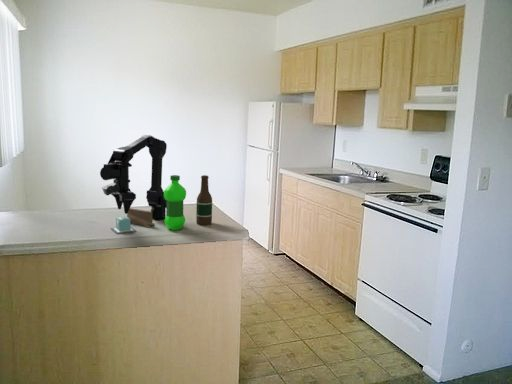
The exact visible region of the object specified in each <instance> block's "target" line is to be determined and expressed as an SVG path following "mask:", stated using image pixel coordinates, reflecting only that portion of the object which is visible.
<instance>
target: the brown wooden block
mask: <svg viewBox="0 0 512 384" xmlns="http://www.w3.org/2000/svg"><path fill="white" fill-rule="evenodd" d="M126 217H128V218H129V219H130V224H133V225H138V226H139V225H140V226H144V227H145V228H147V229H148V228H150V227H153V226H155V225H156V223H155V222H153V219H152V212H151V210H145V209H138V208H133V207H130V209H129V211H128V213H127V214H126Z"/></svg>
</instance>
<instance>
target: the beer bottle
mask: <svg viewBox="0 0 512 384" xmlns="http://www.w3.org/2000/svg"><path fill="white" fill-rule="evenodd" d="M200 178H201V181H200V190H199V191H200V192H199V194H198V195H197V197H196V214H195V215H196V225H198V226H202V227H203V226H210V225H212V220H213V197H212V195H211V192H210V191H209V178H210V177H209V175H207V174H206V175H201V176H200Z"/></svg>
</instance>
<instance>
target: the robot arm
mask: <svg viewBox="0 0 512 384" xmlns="http://www.w3.org/2000/svg"><path fill="white" fill-rule="evenodd" d="M167 147H168V145H167V143H166V140H164V139H163V140H161V139H159V138H156V137H154V136H152V135H148V134H143V135H141V137H140V138H138V139H136V140H134V141H133V142H131V143H129V144H128V145H125V146H121V147H118V148H116V149H113V151H112V154H111V156H110V158H109V160H108V162H107V163H105V164H104V163H103V167H102V168H101V169H100V171H99V175H100V177H101V179H102V180H103V181H109V180H113V182H112V183H108V184H106V185H105V186H102V187H101V189H102V192H103V194H104V195H105V196H110V195H111V196H112V197H113V198H114V200H115V202H116V203H115V204H116V206H117V209H118V210H121V209H122V206H123V212H124V214H126V215H127V213H128V211H129V209H130V208H132V204H133V203H134V201H135V200H136V199H137V194H136V193H134V192H133V191H132V190H131V188H130V183H131V179H130V178H129V177H130V176H129V173H130V171H129V170H130V169H129V168H130V167H133V165H132V164H131V163H130V161H132V160H133V158H134V155H136V154H137V153H138V152H140V151H141V150H143V149H144V148H148V152H149V155H150V157H151V175H150V176H151V179H150V184H151V185H150V187H149V189H148V190H146V197H145V198H146V201H147V203H148V204H147V205H148V206H149V207H151V209H150V211H151V212H152V221H160V220H161V221H163V220H165V217H166V209H167V200H166V199H165V198H164V190H163V188H162V178H163V177H162V176H163V158H164V157H165V155H166V153H167Z"/></svg>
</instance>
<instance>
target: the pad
mask: <svg viewBox="0 0 512 384" xmlns="http://www.w3.org/2000/svg"><path fill="white" fill-rule="evenodd" d="M110 230H111V231H112V232H113V233H115V234H116V235H120V234H127V233H128V234H129V233H134V232H137V230H136V229H135V228H133V226H131V230H126V231H119V230H117V229H116V227H110Z"/></svg>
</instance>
